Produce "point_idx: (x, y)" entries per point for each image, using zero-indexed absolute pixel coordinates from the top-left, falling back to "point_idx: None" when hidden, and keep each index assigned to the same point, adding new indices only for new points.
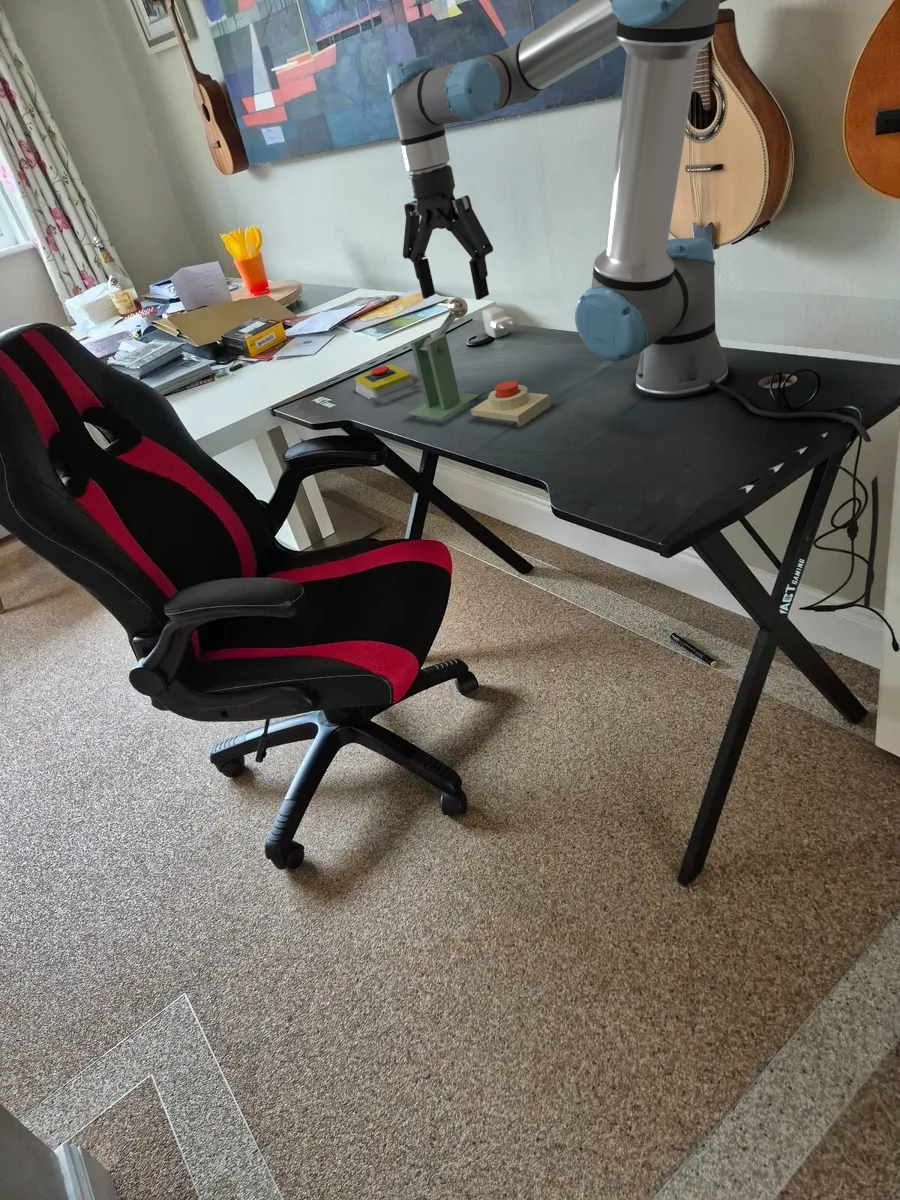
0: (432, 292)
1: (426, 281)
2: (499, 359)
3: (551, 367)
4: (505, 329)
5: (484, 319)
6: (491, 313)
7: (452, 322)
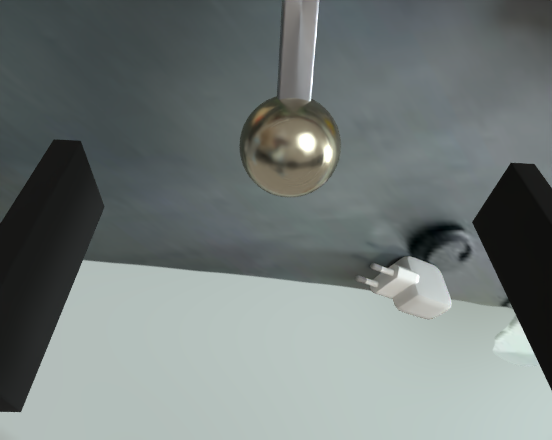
0: (486, 219)
1: (532, 259)
2: (338, 180)
3: (172, 156)
4: (371, 263)
5: (442, 290)
6: (419, 297)
7: (279, 48)
